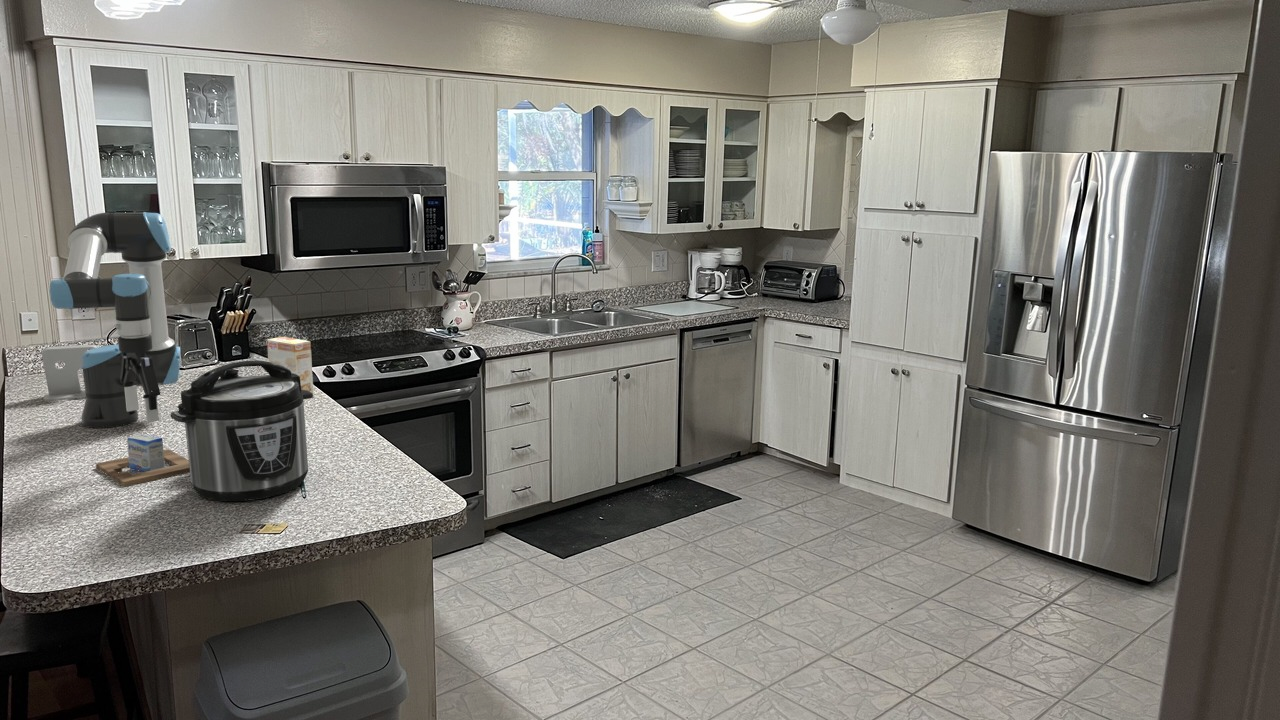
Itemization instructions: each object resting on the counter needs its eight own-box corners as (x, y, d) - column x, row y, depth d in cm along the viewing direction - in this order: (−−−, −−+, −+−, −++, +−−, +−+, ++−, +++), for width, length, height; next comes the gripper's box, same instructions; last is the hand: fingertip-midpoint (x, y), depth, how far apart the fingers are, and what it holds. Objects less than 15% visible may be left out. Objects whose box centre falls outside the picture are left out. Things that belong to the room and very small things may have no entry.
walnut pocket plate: (96, 468, 237) (95, 463, 237) (168, 453, 250) (168, 449, 250) (124, 486, 224) (123, 481, 224) (199, 469, 237) (198, 465, 237)
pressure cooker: (169, 511, 209) (157, 377, 202) (199, 471, 236) (188, 352, 229) (307, 503, 215) (299, 372, 209) (320, 465, 242) (313, 349, 236)
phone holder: (105, 390, 318) (100, 339, 315) (103, 396, 309) (97, 344, 306) (46, 394, 311) (40, 343, 307) (43, 401, 302) (36, 348, 298)
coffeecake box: (314, 396, 315) (311, 340, 311) (297, 400, 309) (293, 344, 305) (287, 389, 323) (283, 336, 319) (269, 393, 317) (265, 339, 313)
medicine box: (129, 469, 236) (125, 437, 235) (144, 464, 241) (141, 433, 239) (150, 473, 234) (147, 441, 232) (165, 468, 238) (162, 437, 236)
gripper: (101, 329, 235) (109, 408, 240) (137, 345, 219) (145, 429, 224) (132, 326, 241) (139, 403, 245) (169, 341, 224) (177, 423, 229)
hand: (142, 415), depth 234 cm, fingers open, 13 cm apart
